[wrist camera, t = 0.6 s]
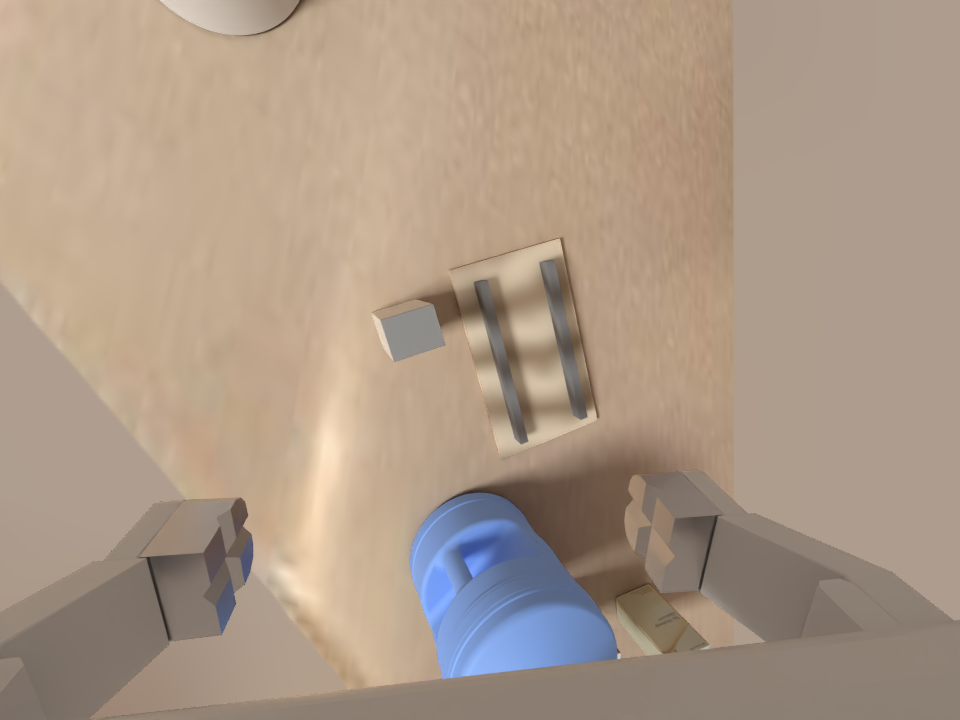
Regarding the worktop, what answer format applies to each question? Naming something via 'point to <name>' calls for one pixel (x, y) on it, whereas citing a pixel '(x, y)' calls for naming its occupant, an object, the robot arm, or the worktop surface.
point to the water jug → (501, 593)
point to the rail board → (525, 345)
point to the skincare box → (656, 623)
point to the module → (408, 329)
